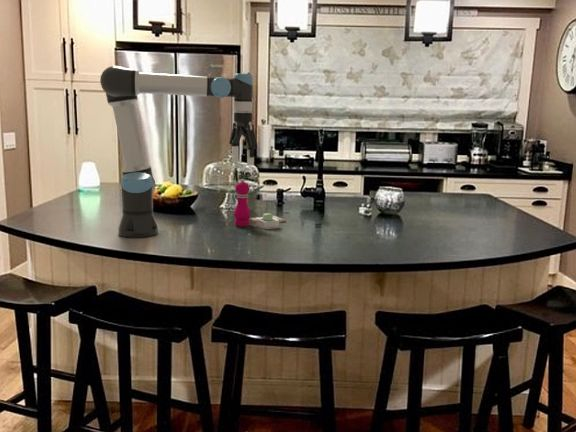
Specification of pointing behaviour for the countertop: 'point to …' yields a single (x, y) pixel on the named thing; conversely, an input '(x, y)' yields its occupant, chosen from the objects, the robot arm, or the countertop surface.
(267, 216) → the button
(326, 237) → the countertop surface
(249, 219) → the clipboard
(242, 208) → the pepper mill
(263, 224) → the button base
